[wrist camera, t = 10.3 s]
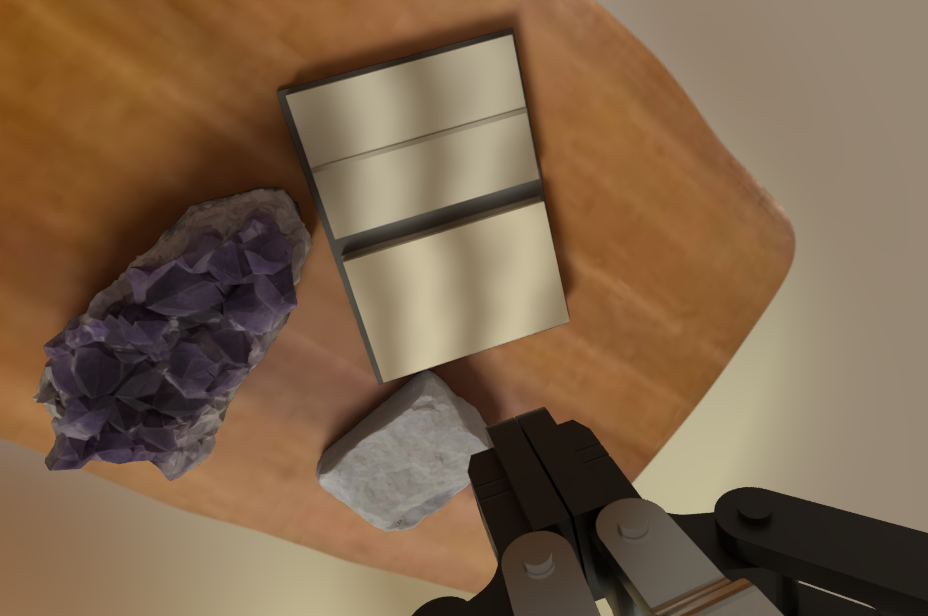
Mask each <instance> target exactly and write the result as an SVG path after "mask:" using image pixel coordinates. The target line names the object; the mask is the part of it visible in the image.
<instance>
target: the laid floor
mask: <svg viewBox="0 0 928 616" xmlns="http://www.w3.org/2000/svg"><path fill="white" fill-rule="evenodd" d="M277 95H278V98H279V101H280V104H281V107H282V109H283V112H284V115H285V118H286V121H287V124H288V127H289V129H290V132H291V135H292V138H293V141H294V144H295V147H296V149H297V152H298V155H299V158H300V161H301V164H302V167H303V169H304V172H305V175H306V178H307V181H308V184H309V187H310V189H311V192H312V195H313V198H314V201H315V204H316V207H317V210H318V212H319V215H320V218H321V221H322V224H323V227H324V230H325V232H326V235H327V238H328V241H329V244H330V247H331V250H332V252H333V255H334V258H335V261H336V264H337V267H338V270H339V272H340V275H341V278H342V281H343V284H344V287H345V290H346V292H347V295H348V298H349V301H350V304H351V307H352V310H353V313H354V315H355V318H356V321H357V324H358V327H359V330H360V333H361V335H362V338H363V341H364V344H365V347H366V350H367V353H368V355H369V358H370V361H371V364H372V367H373V370H374V373H375V375H376V378H377V381H378V384H379V385H380V384H383V383H386V382H383V379H382V376H381V373H380V370H379V367H378V364H377V361H376V359H375V356H374V353H373V350H372V347H371V344H370V341H369V338H368V335H367V332H366V329H365V326H364V323H363V320H362V317H361V314H360V311H359V308H358V305H357V303H356V300H355V297H354V294H353V291H352V288H351V285H350V282H349V279H348V276H347V273H346V270H345V267H344V264H343V260H342V257H341V255H342V254H345V253H348V252H352V251H355V250H358V249H362V248H365V247H368V246H372V245H375V244H378V243H382V242H385V241H388V240H392V239H395V238H398V237H401V236H405V235H408V234H411V233H415V232H418V231H421V230H425V229H428V228H431V227H435V226H438V225H441V224H445V223H448V222H451V221H454V220H458V219H461V218H464V217H468V216H471V215H474V214H478V213H481V212H484V211H488V210H491V209H494V208H498V207H501V206H504V205H507V204H511V203H514V202H517V201H521V200H524V199H527V198H531V197H534V196H537V195H538V196H540V198H541V201H544V204H545V209H546V214H547V218H548V223H549V228H550V232H551V227H550V222H549V217H548V211H547V206H546V201H545V195H544V190H543V185H542V179H541V174H540V169H539V163H538V158H537V153H536V147H535V142H534V137H533V131H532V126H531V121H530V115H529V110H528V105H527V99H526V94H525V89H524V83H523V78H522V73H521V67H520V62H519V57H518V52H517V46H516V41H515V36H514V30H513V28H511V29H507V30H504V31H500V32H496V33H493V34H489V35H485V36H481V37H478V38H474V39H470V40H466V41H463V42H459V43H455V44H452V45H448V46H444V47H440V48H437V49H433V50H429V51H426V52H422V53H418V54H414V55H411V56H407V57H403V58H400V59H396V60H392V61H388V62H385V63H381V64H377V65H374V66H370V67H366V68H362V69H359V70H355V71H351V72H348V73H344V74H340V75H336V76H333V77H329V78H325V79H321V80H318V81H314V82H310V83H307V84H303V85H299V86H295V87H292V88H288V89H284V90H281V91H277ZM551 237H552V232H551ZM552 242H553V238H552ZM553 246H554V243H553ZM554 251H555V248H554ZM555 255H556V254H555ZM556 260H557V259H556ZM557 265H558V264H557ZM567 323H568V322H567ZM564 324H566V323H564ZM561 325H563V324H561ZM558 326H560V325H558ZM555 327H557V326H555ZM552 328H554V327H552ZM549 329H551V328H549ZM546 330H548V329H546ZM543 331H545V330H543ZM540 332H542V331H540ZM537 333H538V332H537ZM534 334H535V333H534ZM531 335H532V334H531ZM528 336H529V335H528ZM525 337H526V336H525ZM522 338H523V337H522ZM519 339H520V338H519ZM516 340H517V339H516ZM513 341H514V340H513ZM510 342H511V341H510ZM506 343H508V342H506ZM503 344H505V343H503ZM500 345H502V344H500ZM497 346H499V345H497ZM494 347H496V346H494ZM491 348H493V347H491ZM488 349H490V348H488ZM485 350H487V349H485ZM482 351H484V350H482ZM479 352H481V351H479ZM476 353H477V352H476ZM473 354H474V353H473ZM470 355H471V354H470ZM467 356H468V355H467ZM464 357H465V356H464ZM461 358H462V357H461ZM458 359H459V358H458ZM455 360H456V359H455ZM452 361H453V360H452ZM449 362H450V361H449ZM445 363H447V362H445ZM442 364H444V363H442ZM439 365H441V364H439ZM436 366H438V365H436ZM433 367H435V366H433ZM430 368H432V367H430ZM427 369H429V368H427ZM424 370H426V369H424ZM421 371H423V370H421ZM418 372H420V371H418ZM415 373H417V372H415ZM412 374H413V373H412ZM409 375H410V374H409ZM406 376H407V375H406ZM403 377H404V376H403ZM400 378H401V377H400ZM397 379H398V378H397ZM394 380H395V379H394ZM391 381H392V380H391ZM388 382H389V381H388Z"/></svg>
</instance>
